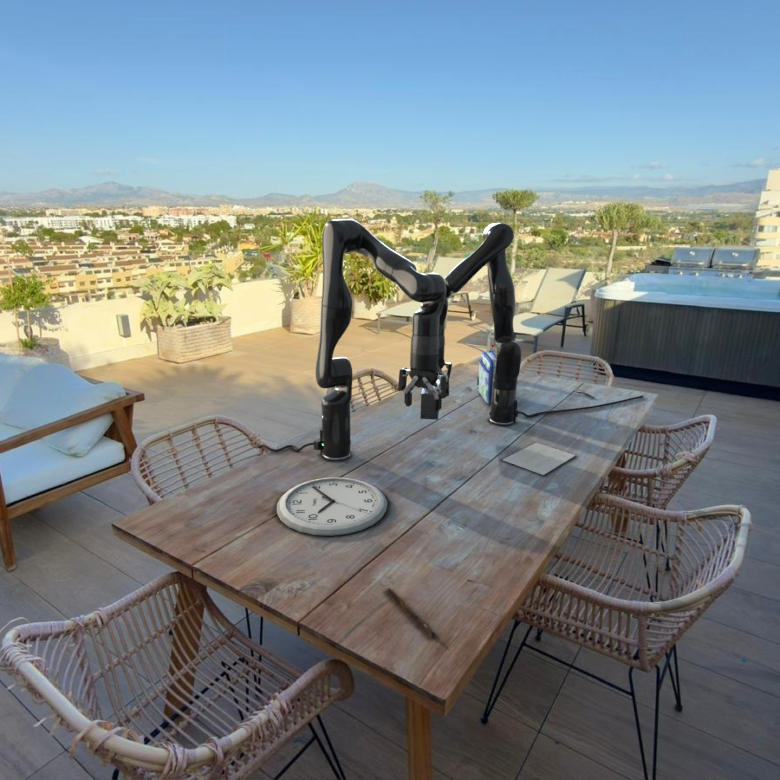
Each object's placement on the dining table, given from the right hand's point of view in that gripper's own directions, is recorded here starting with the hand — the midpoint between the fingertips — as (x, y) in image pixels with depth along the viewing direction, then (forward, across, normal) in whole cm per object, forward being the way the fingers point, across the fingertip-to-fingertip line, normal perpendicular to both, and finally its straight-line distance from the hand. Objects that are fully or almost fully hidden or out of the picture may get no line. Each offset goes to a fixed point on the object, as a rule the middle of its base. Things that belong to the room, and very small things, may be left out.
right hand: (432, 388), depth 198 cm
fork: (+15, +68, +51) cm, 86 cm away
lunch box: (+15, +25, +36) cm, 46 cm away
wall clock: (+14, -23, -66) cm, 72 cm away
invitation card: (+15, +38, -25) cm, 48 cm away
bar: (+5, 0, -8) cm, 10 cm away
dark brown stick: (+14, +2, -105) cm, 106 cm away
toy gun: (+15, +24, +74) cm, 79 cm away
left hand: (-11, 0, -55) cm, 56 cm away
